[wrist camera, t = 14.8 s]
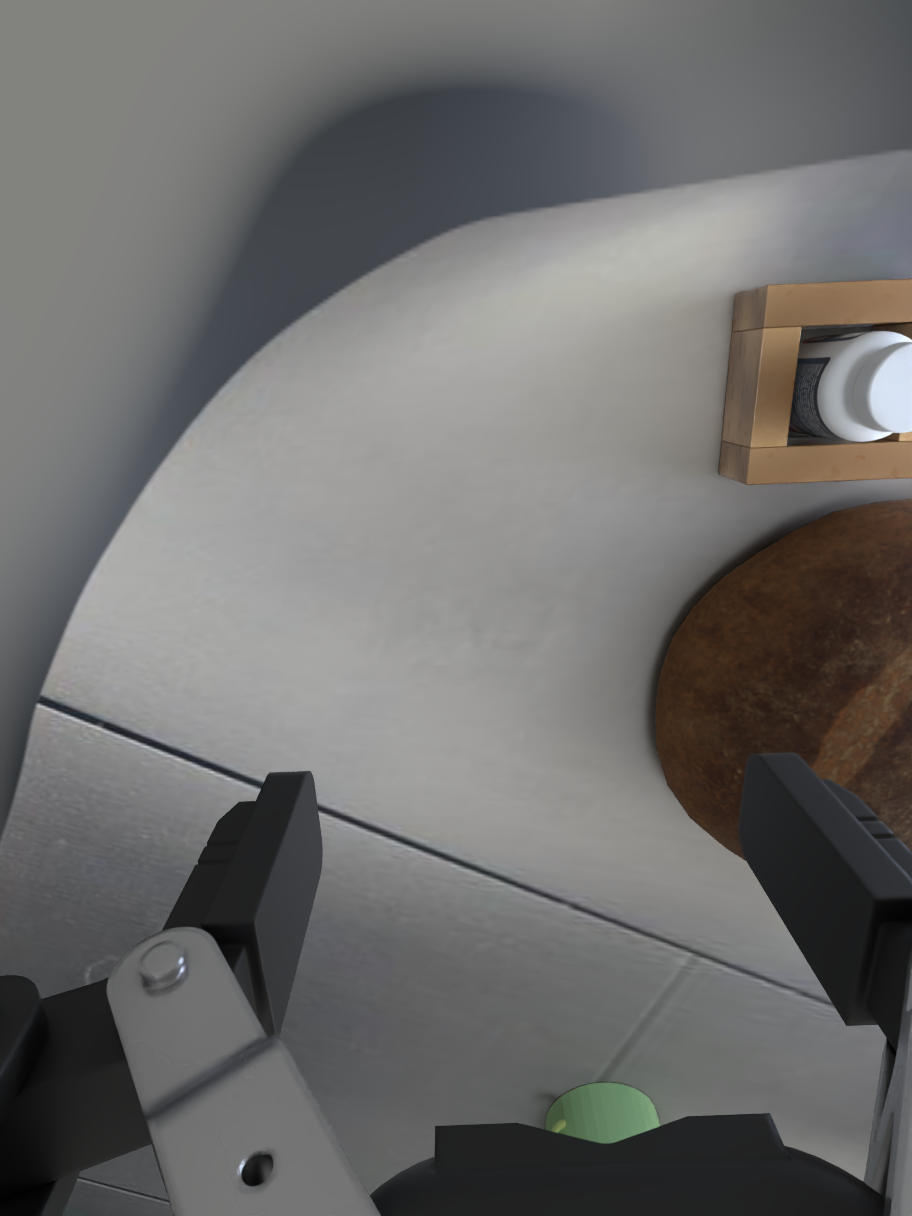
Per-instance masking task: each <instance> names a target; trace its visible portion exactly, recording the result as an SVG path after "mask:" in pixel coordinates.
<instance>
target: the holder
mask: <svg viewBox="0 0 912 1216" xmlns="http://www.w3.org/2000/svg"><path fill="white" fill-rule="evenodd" d="M865 326H874V327H873V331H889V332H895V333H899V334H902V335H904V336H906V337H908V338H909V339H911V340H912V279H891V280H868V281H845V282H822V283H799V284H776V285H766V286H762V287H759V288H755V289H751V290H748V291H744V292H740V293H737V294H736V296H735V306H734V317H733V328H732V332H733V333H732V338H731V349H730V360H729V370H728V381H727V392H726V402H725V413H724V424H723V434H722V445H721V455H720V466H719V474H720V475H722V476H725V477H728V478H730V479H733V480H735V481H738V482H741V483H743V484H746V485H756V484H780V483H803V482H827V481H851V480H874V479H898V478H912V431H911V432H907V433H892V434H890V435H888V436H886V437H883V438H881V439H877V440H873V441H866V442H856V441H847V440H841V439H835V438H829V437H801V438H788V431H789V423H790V415H791V407H792V399H793V391H794V383H795V375H796V367H797V359H798V352H799V344H800V336H801V329H819V328H842V327H865ZM873 331H872V332H873Z"/></svg>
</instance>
